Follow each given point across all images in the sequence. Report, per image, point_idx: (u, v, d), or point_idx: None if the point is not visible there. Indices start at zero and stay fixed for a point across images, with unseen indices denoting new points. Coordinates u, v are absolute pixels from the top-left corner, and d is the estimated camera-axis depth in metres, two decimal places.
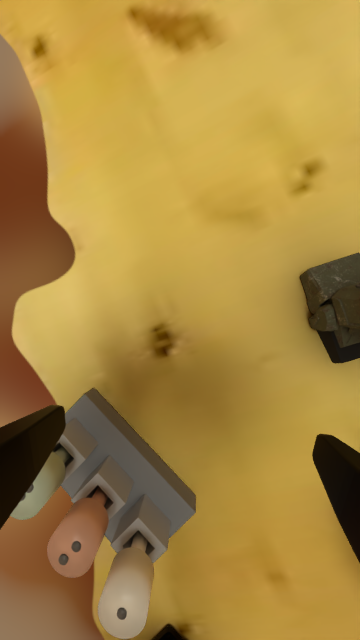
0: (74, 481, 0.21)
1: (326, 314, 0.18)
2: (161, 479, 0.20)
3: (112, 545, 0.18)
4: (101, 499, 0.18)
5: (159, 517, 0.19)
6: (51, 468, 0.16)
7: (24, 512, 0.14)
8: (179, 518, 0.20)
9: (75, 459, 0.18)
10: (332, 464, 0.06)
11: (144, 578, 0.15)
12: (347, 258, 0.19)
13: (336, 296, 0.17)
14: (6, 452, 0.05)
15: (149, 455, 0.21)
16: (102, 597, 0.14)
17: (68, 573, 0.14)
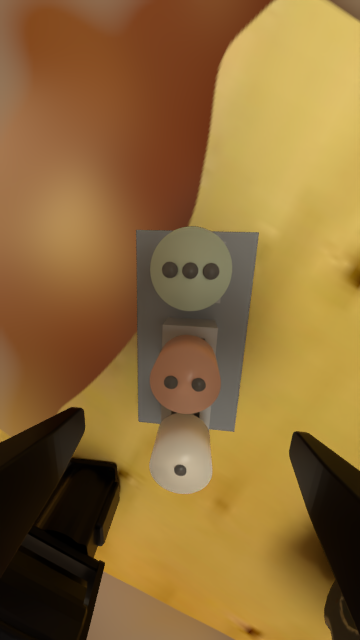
0: (154, 308, 0.16)
1: None
2: (237, 384, 0.16)
3: None
4: None
5: None
6: None
7: (173, 294, 0.09)
8: (216, 423, 0.17)
9: None
10: (305, 461, 0.06)
11: None
12: None
13: None
14: (33, 456, 0.05)
15: None
16: (174, 444, 0.10)
17: (161, 398, 0.10)
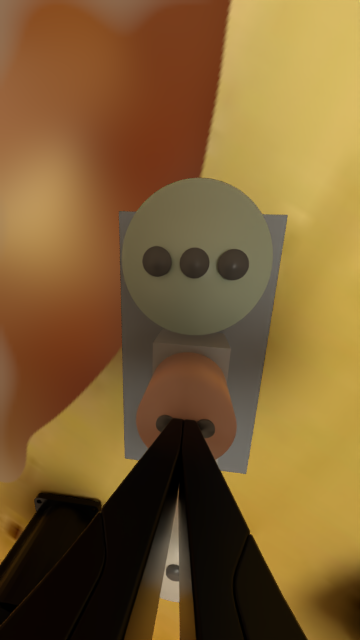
0: (144, 317, 0.12)
1: None
2: (252, 416, 0.13)
3: None
4: None
5: None
6: None
7: (164, 305, 0.05)
8: (223, 463, 0.14)
9: None
10: None
11: None
12: None
13: None
14: (174, 474, 0.05)
15: None
16: None
17: None
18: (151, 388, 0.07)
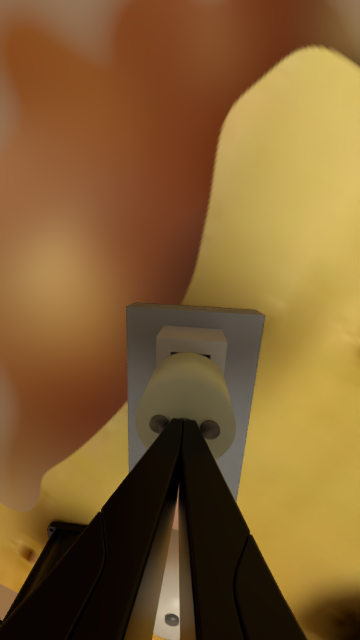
0: None
1: None
2: (238, 468, 0.15)
3: None
4: None
5: None
6: None
7: None
8: None
9: None
10: None
11: None
12: None
13: None
14: (174, 474, 0.05)
15: None
16: (165, 594, 0.09)
17: None
18: None
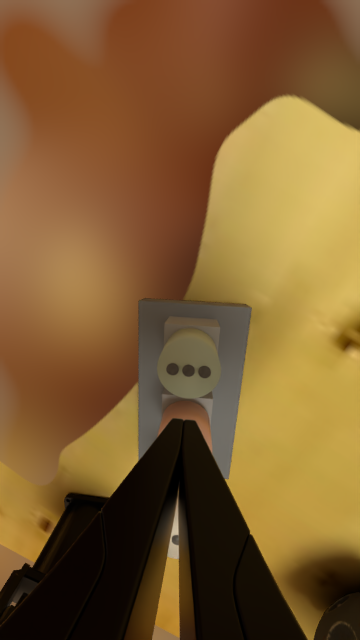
0: (154, 368, 0.17)
1: None
2: (231, 438, 0.18)
3: None
4: None
5: None
6: None
7: (175, 386, 0.11)
8: None
9: None
10: None
11: None
12: None
13: None
14: (174, 474, 0.05)
15: None
16: None
17: None
18: None
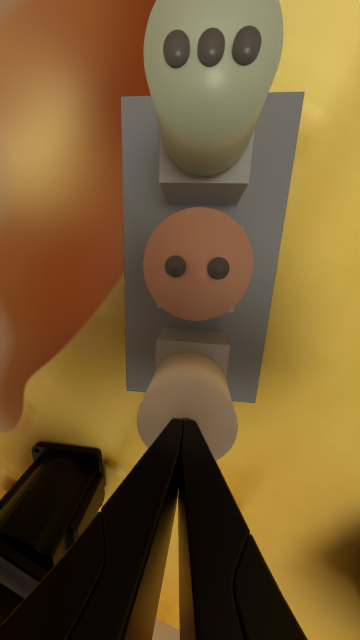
0: (148, 223, 0.11)
1: None
2: (262, 336, 0.12)
3: (157, 342, 0.10)
4: None
5: None
6: None
7: (182, 101, 0.05)
8: (230, 392, 0.13)
9: None
10: None
11: None
12: None
13: None
14: (174, 474, 0.05)
15: None
16: (178, 382, 0.06)
17: (160, 296, 0.07)
18: (160, 225, 0.06)
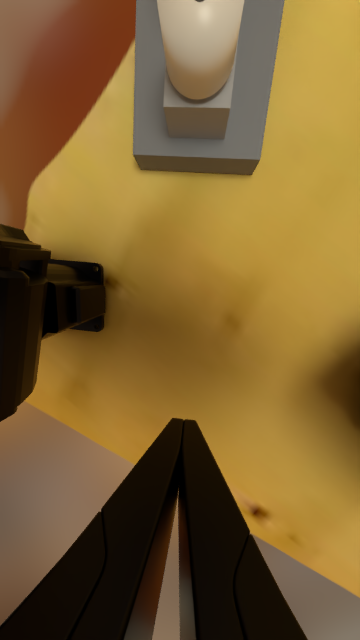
0: None
1: None
2: (270, 71, 0.12)
3: None
4: None
5: None
6: None
7: None
8: (236, 147, 0.13)
9: None
10: None
11: (239, 26, 0.09)
12: None
13: None
14: (174, 474, 0.05)
15: None
16: None
17: None
18: None
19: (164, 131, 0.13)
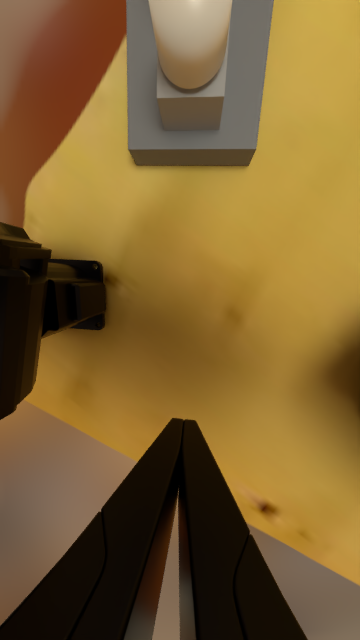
0: None
1: None
2: (263, 59, 0.12)
3: None
4: None
5: None
6: None
7: None
8: (232, 137, 0.13)
9: None
10: None
11: (230, 11, 0.08)
12: None
13: None
14: (174, 474, 0.05)
15: None
16: None
17: None
18: None
19: (158, 124, 0.13)
